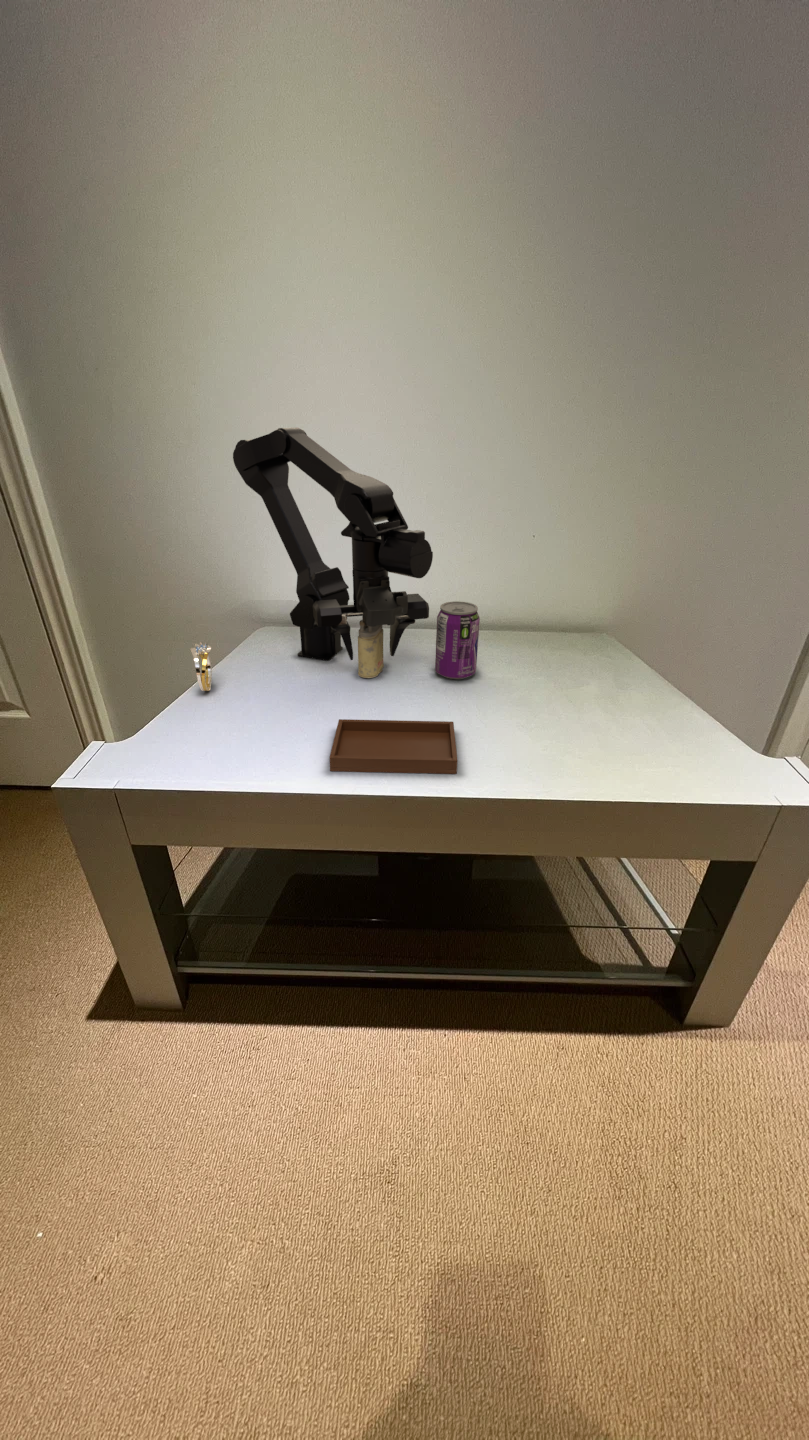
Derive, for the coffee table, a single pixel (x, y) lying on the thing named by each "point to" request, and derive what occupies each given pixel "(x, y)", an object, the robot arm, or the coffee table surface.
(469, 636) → the beverage can
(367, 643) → the worn yellow canister
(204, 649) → the ring
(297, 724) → the coffee table surface
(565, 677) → the coffee table surface
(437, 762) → the tray
